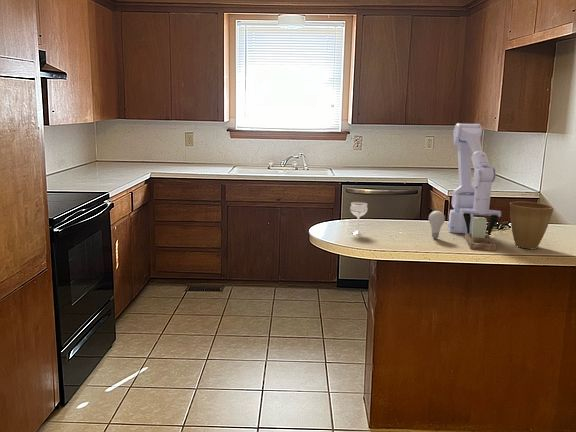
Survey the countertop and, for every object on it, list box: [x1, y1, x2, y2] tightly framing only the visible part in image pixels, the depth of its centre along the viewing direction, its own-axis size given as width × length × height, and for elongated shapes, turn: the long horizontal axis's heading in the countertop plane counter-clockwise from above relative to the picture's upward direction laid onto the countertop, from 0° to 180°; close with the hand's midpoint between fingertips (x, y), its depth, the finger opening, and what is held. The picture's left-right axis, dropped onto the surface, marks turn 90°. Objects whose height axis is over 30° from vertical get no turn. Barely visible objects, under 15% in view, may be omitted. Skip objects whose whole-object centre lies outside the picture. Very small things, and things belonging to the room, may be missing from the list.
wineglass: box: [349, 201, 368, 235], centre depth 219 cm, size 7×7×12 cm
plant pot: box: [509, 201, 554, 250], centre depth 205 cm, size 15×15×16 cm
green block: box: [471, 216, 488, 238], centre depth 212 cm, size 4×4×9 cm
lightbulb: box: [428, 210, 446, 239], centre depth 214 cm, size 6×6×11 cm
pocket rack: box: [464, 233, 497, 252], centre depth 208 cm, size 9×17×2 cm, turn 169°
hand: (478, 233), depth 212 cm, fingers open, 7 cm apart
